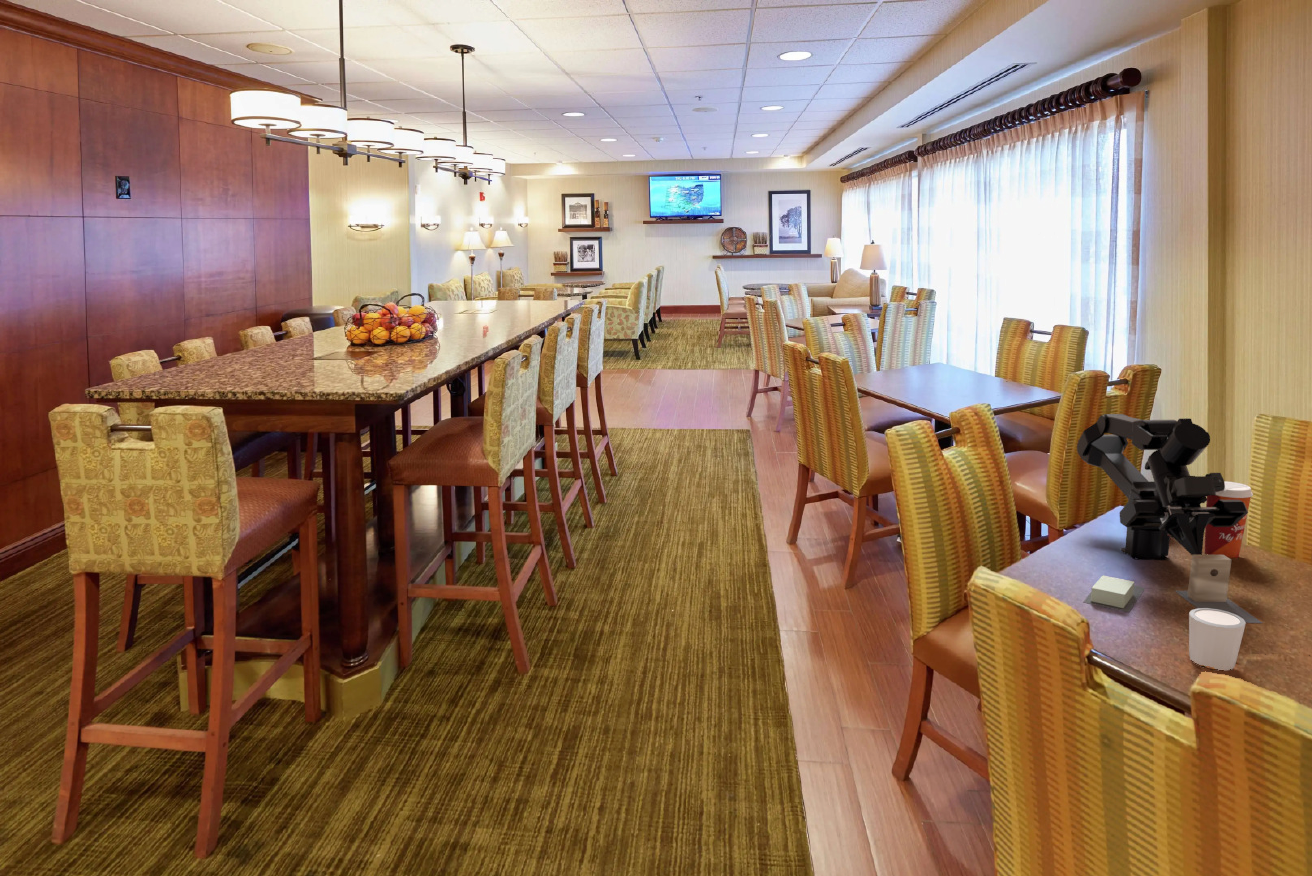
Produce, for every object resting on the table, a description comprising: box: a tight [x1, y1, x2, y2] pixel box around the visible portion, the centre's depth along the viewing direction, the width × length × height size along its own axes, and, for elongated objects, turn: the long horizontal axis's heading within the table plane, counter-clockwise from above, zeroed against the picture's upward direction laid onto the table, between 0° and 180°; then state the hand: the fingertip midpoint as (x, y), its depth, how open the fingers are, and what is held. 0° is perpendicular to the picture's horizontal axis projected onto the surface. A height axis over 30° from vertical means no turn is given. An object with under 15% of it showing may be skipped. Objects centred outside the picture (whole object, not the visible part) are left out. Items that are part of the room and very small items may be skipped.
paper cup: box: [1204, 480, 1254, 559], centre depth 164 cm, size 8×8×14 cm
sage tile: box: [1090, 575, 1135, 608], centre depth 145 cm, size 2×5×8 cm
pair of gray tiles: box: [1083, 584, 1263, 624], centre depth 144 cm, size 25×18×1 cm
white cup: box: [1188, 608, 1247, 672], centre depth 123 cm, size 7×7×7 cm
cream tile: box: [1187, 554, 1232, 602], centre depth 143 cm, size 2×5×8 cm, turn 85°
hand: (1198, 557), depth 146 cm, fingers closed
